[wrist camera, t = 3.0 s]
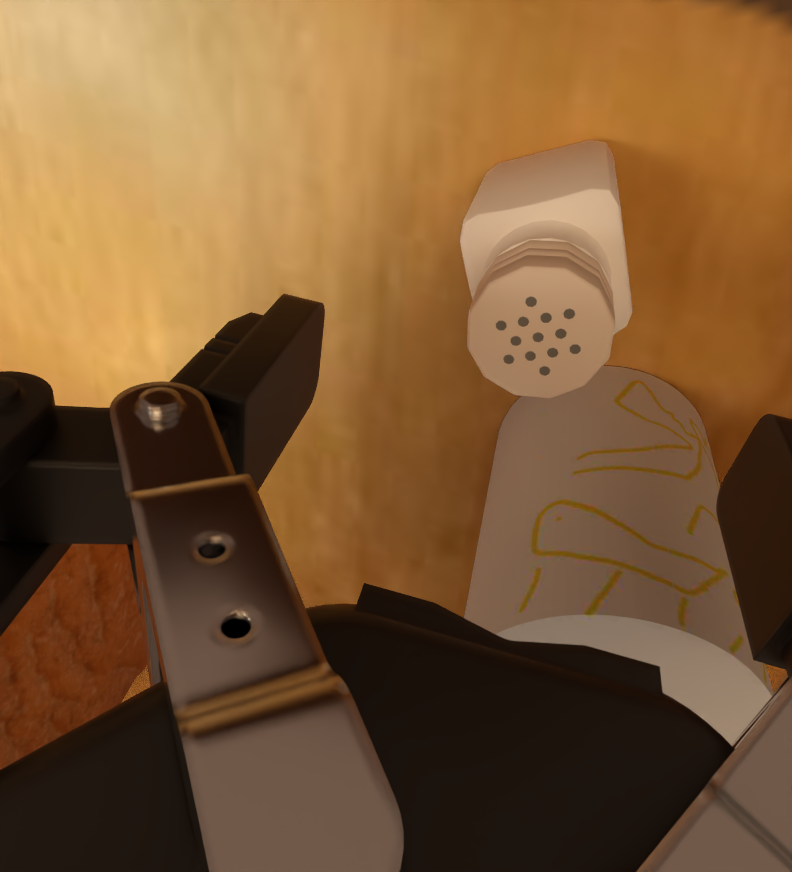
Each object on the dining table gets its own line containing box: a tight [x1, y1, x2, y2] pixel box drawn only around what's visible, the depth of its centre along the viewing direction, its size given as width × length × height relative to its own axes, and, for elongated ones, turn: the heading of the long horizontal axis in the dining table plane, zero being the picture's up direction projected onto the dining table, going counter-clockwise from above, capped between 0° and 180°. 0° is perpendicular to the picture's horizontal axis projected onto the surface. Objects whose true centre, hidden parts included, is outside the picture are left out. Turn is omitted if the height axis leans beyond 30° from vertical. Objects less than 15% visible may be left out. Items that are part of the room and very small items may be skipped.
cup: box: [464, 366, 773, 745], centre depth 22 cm, size 8×8×12 cm
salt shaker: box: [460, 140, 633, 398], centre depth 18 cm, size 4×4×10 cm
